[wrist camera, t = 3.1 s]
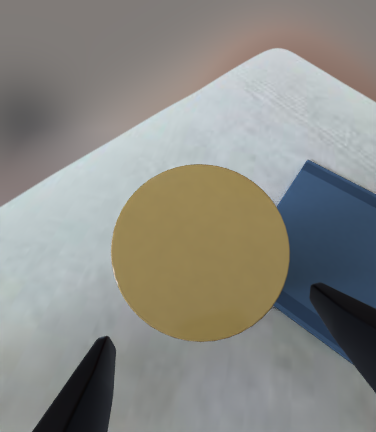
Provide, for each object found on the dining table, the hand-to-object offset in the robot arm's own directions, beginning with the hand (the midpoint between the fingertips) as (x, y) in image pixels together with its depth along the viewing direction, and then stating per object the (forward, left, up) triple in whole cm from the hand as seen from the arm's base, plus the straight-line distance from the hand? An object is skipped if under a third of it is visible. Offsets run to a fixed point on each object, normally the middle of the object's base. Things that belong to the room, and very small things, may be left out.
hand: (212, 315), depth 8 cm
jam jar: (+2, -2, -10) cm, 11 cm away
